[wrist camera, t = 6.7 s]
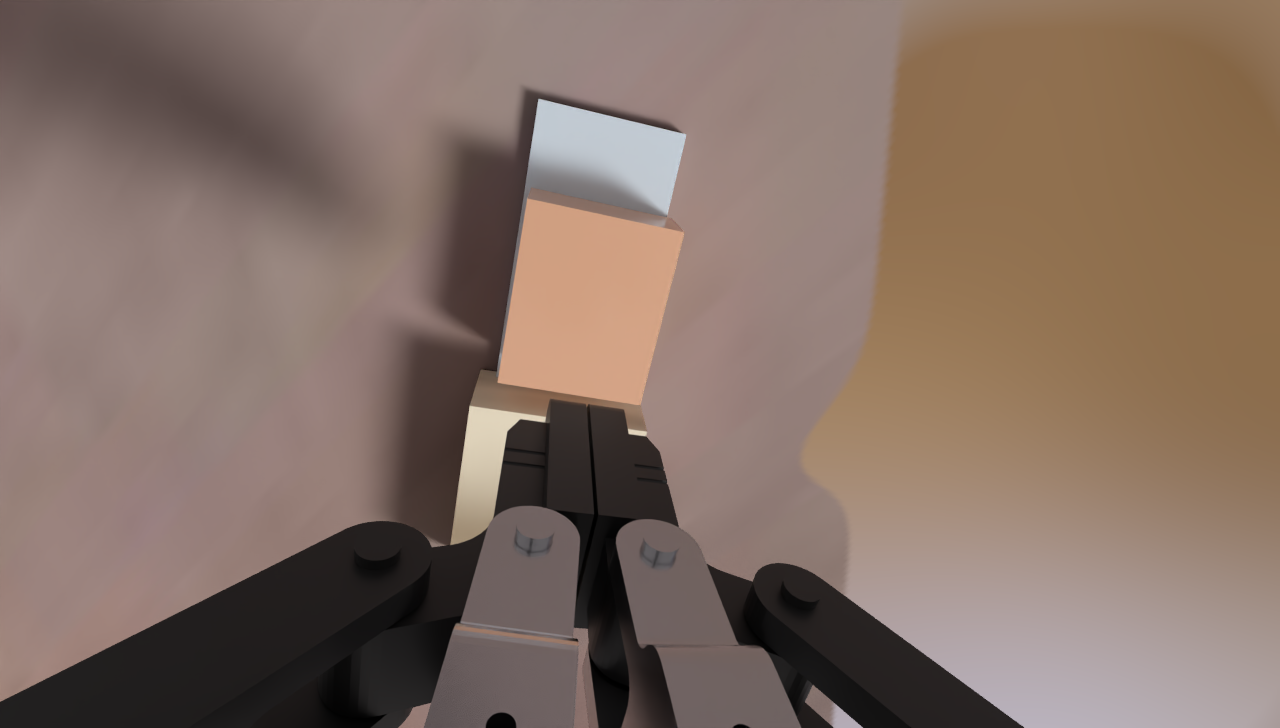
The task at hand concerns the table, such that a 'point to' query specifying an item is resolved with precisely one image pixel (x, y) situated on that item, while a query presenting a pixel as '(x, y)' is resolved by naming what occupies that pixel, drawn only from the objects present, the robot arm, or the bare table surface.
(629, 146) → the mat
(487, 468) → the deck
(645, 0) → the table surface
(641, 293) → the tile
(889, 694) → the robot arm
